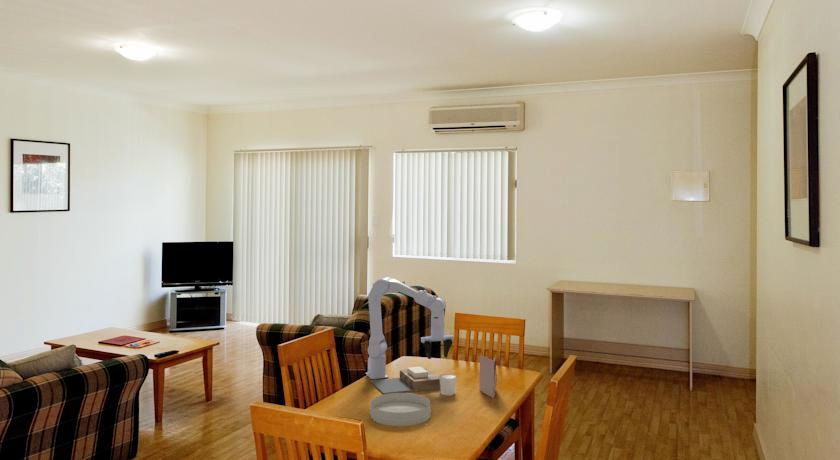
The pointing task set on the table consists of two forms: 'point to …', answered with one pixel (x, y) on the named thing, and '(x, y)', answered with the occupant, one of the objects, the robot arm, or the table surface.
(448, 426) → the table surface
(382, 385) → the mat
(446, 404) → the table surface
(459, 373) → the table surface
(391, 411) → the dish
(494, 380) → the greeting card
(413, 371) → the tile
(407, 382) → the platform
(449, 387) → the white cup
